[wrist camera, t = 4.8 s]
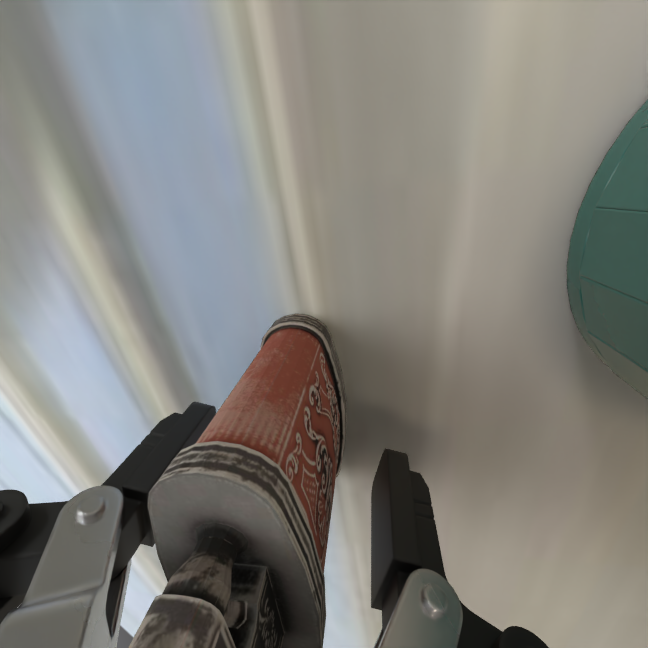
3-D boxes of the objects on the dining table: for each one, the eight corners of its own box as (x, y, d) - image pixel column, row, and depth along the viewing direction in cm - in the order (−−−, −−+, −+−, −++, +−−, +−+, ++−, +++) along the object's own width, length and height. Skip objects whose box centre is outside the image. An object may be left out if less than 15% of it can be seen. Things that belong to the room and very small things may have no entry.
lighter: (254, 315, 12) (-70, 661, 3) (338, 312, 12) (228, 717, 3) (283, 466, 16) (157, 861, 6) (352, 469, 15) (320, 905, 6)
